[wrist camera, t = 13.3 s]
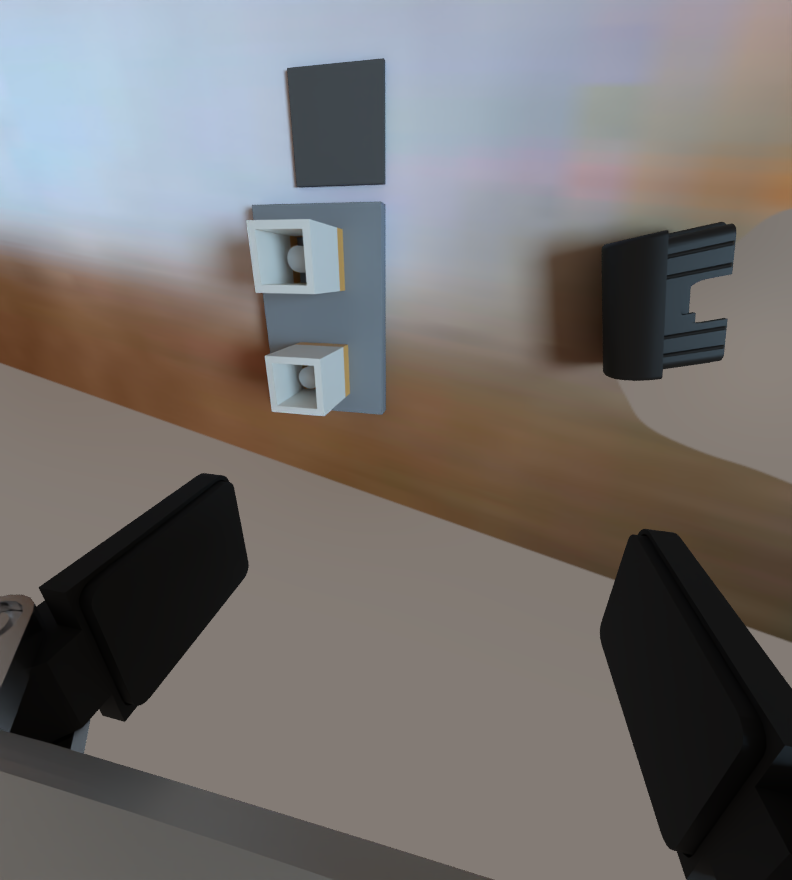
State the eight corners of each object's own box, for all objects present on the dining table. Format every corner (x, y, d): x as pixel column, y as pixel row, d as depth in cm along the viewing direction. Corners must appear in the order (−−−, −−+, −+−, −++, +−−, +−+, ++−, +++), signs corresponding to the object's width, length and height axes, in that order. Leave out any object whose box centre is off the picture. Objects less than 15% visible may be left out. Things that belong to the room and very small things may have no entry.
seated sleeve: (289, 229, 34) (246, 220, 28) (342, 229, 33) (309, 219, 27) (295, 289, 36) (255, 292, 30) (345, 290, 35) (314, 294, 29)
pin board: (260, 207, 35) (224, 196, 30) (385, 204, 33) (367, 192, 28) (283, 401, 43) (257, 418, 38) (385, 409, 41) (371, 428, 36)
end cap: (590, 247, 31) (615, 241, 25) (690, 225, 29) (744, 212, 23) (592, 366, 35) (615, 386, 29) (682, 353, 33) (727, 371, 27)
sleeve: (300, 342, 38) (264, 355, 32) (347, 344, 37) (320, 359, 31) (305, 389, 40) (271, 411, 34) (349, 393, 39) (324, 416, 33)
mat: (289, 70, 31) (287, 68, 30) (385, 61, 29) (383, 58, 29) (298, 187, 34) (296, 186, 33) (385, 184, 32) (384, 183, 32)
